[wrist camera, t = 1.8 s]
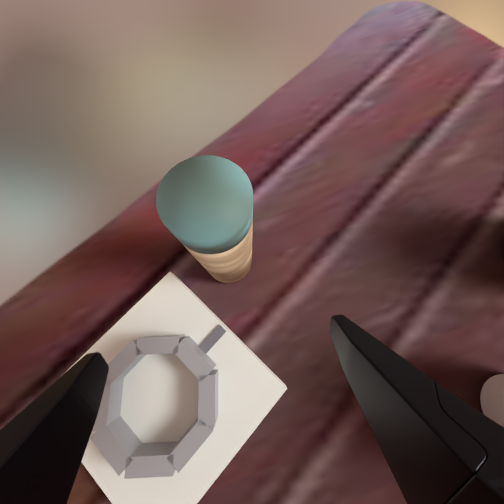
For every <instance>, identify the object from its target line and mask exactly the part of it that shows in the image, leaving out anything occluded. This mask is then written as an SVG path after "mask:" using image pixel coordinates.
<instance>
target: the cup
mask: <svg viewBox="0 0 504 504" xmlns="http://www.w3.org/2000/svg"><path fill="white" fill-rule="evenodd" d="M480 401H481V408H482V411H483V414H484V415H485V416H487V417H489V418H490V419H492V420H493V421H495V422H496V423H498V424H500V425H501V426H503V427H504V374H498V375H494V376H492V377H490V378H489V379H488V380H487V381H486V382H485V383H484V385H483V387H482V390H481V396H480Z"/></svg>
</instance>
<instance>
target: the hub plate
mask: <svg viewBox="0 0 504 504" xmlns="http://www.w3.org/2000/svg"><path fill="white" fill-rule="evenodd" d="M94 352H99V353H101V355H102V356H103V358H104V359H105V361H106V362H107V364H108V366H109V372H108V376H107V380H106V384H105V388H104V392H103V396H102V400H101V404H100V408H99V412H98V415H97V418H96V421H95V424H94V427H93V430H92V433H91V436H90V438H89V441H88V444H87V447H86V450H85V453H84V456H83V458H82V461H81V462H82V463H83V465H84V466H85V468H86V469H87V470H88V472H89V473H90V474H91V476H92V477H93V478H94V480H95V481H96V482H97V484H98V485H99V487H100V488H101V489H102V491H103V492H104V493H105V495H106V496H107V497H108V499H109V500H110V502H111V503H112V504H197V503H198V502H199V501H200V499H201V498H202V497H203V495H204V494H205V493H206V492H207V490H208V489H209V488H210V487H211V485H212V484H213V483H214V481H215V480H216V479H217V478H218V476H219V475H220V474H221V472H222V471H223V470H224V469H225V467H226V466H227V465H228V463H229V462H230V461H231V460H232V458H233V457H234V456H235V455H236V453H237V452H238V451H239V449H240V448H241V447H242V446H243V444H244V443H245V442H246V440H247V439H248V438H249V437H250V435H251V434H252V433H253V432H254V430H255V429H256V428H257V426H258V425H259V424H260V423H261V421H262V420H263V419H264V417H265V416H266V415H267V414H268V412H269V411H270V410H271V409H272V407H273V406H274V405H275V403H276V402H277V401H278V400H279V398H280V397H281V396H282V394H283V393H284V392H285V391H286V389H287V387H286V385H285V384H284V383H283V382H282V381H281V380H280V379H279V378H278V377H277V376H276V375H275V374H274V373H273V372H272V371H271V370H270V369H269V368H268V367H267V366H266V365H265V364H264V363H263V362H262V361H261V360H260V359H259V358H258V357H257V356H256V355H255V354H254V353H253V352H252V351H251V350H250V349H249V348H248V347H247V346H246V345H245V344H244V343H243V342H242V341H241V340H240V339H239V338H238V337H237V336H236V335H235V334H234V333H233V332H232V331H231V330H230V329H229V328H228V327H227V326H226V325H225V324H224V323H223V322H222V321H221V320H220V319H219V318H218V317H217V316H216V315H215V314H214V313H213V312H212V311H211V310H210V309H209V308H208V307H207V306H206V305H205V304H204V303H203V302H202V301H201V300H200V299H199V298H198V297H197V296H196V295H195V294H194V293H193V292H192V291H191V290H190V289H189V288H188V287H187V286H186V285H185V284H184V283H183V282H182V281H181V280H180V279H179V278H178V277H177V276H176V275H175V274H174V273H172V272H169V273H168V274H167V275H166V276H165V277H164V278H162V279H161V280H160V281H159V282H158V283H157V284H156V285H155V286H154V287H153V288H152V289H151V290H150V291H149V292H148V293H147V294H146V295H145V296H144V297H143V298H142V299H141V300H140V301H139V302H138V303H137V304H135V305H134V306H133V307H132V308H131V309H130V310H129V311H128V312H127V313H126V314H125V315H124V316H123V317H122V318H121V319H120V320H119V321H118V322H117V323H116V324H115V325H114V326H113V327H112V328H111V329H110V330H108V331H107V332H106V333H105V334H104V335H103V336H102V337H101V338H100V339H99V340H98V341H97V342H96V343H95V344H94V345H93V346H92V347H91V348H90V349H89V350H88V351H87V352H86V353H85V354H84V355H83V356H81V357H80V358H79V359H78V360H77V361H76V362H75V363H74V364H76V363H77V362H78V361H79V360H80V359H81V358H82V357H84V356H85V355H86V354H88V353H94ZM74 364H73V365H74ZM73 365H72V366H73ZM72 366H71V367H72ZM71 367H70V368H71ZM70 368H69V369H70ZM69 369H68V370H69ZM68 370H67V371H68ZM67 371H66V372H67Z"/></svg>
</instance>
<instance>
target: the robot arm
mask: <svg viewBox="0 0 504 504" xmlns="http://www.w3.org/2000/svg"><path fill="white" fill-rule="evenodd" d="M330 335H331V338H332V341H333V343H334V346H335V349H336V352H337V354H338V357H339V360H340V363H341V365H342V368H343V371H344V373H345V376H346V378H347V380H348V382H349V384H350V386H351V388H352V390H353V392H354V394H355V397H356V399H357V401H358V403H359V405H360V407H361V409H362V411H363V413H364V415H365V417H366V419H367V421H368V423H369V425H370V428H371V430H372V432H373V434H374V436H375V438H376V440H377V442H378V444H379V446H380V448H381V450H382V452H383V454H384V456H385V458H386V461H387V463H388V465H389V467H390V469H391V471H392V473H393V475H394V477H395V479H396V481H397V483H398V485H399V487H400V489H401V492H402V494H403V496H404V498H405V500H406V502H407V504H504V427H503V426H501V425H500V424H498V423H496V422H495V421H493V420H492V419H490V418H489V417H487V416H485V415H484V414H482V413H481V412H479V411H478V410H476V409H475V408H473V407H472V406H470V405H469V404H467V403H466V402H464V401H463V400H461V399H460V398H458V397H457V396H456V395H454V394H453V393H451V392H450V391H448V390H447V389H446V388H444V387H443V386H441V385H440V384H439V383H437V382H434V380H433V379H431V378H430V377H429V376H427V375H426V374H424V373H423V372H422V371H420V370H419V369H418V368H416V367H415V366H413V365H412V364H411V363H409V362H408V361H406V360H405V359H404V358H402V357H401V356H399V355H398V354H397V353H395V352H394V351H392V350H391V349H390V348H388V347H387V346H385V345H384V344H383V343H381V342H380V341H379V340H377V339H376V338H374V337H373V336H372V335H370V334H369V333H367V332H366V331H365V330H363V329H362V328H360V327H359V326H358V325H356V324H355V323H353V322H352V321H351V320H349V319H348V318H346V317H345V316H344V315H335V316H332V317H331V324H330ZM108 372H109V366H108V364H107V362H106V361H105V359H104V358H103V356H102V355H101V353H99V352H94V353H88V354H86V355H85V356H84V357H82V358H81V359H80V360H79V361H78V362H77V363H76V364H74V365H73V366H72V367H71V368H70V369H69V370H68V371H67V372H65V373H64V374H63V375H62V376H61V377H60V378H59V379H57V380H56V381H55V382H54V383H53V384H52V385H51V386H49V387H48V388H47V389H46V390H45V391H44V392H43V393H42V394H40V395H39V396H38V397H37V398H36V399H35V400H34V401H32V402H31V403H30V404H29V405H28V406H27V407H26V408H24V409H23V410H22V411H21V412H20V413H19V414H18V415H17V416H15V417H14V418H13V419H12V420H11V421H10V422H9V423H7V424H6V425H5V426H4V427H3V428H2V429H1V430H0V504H67V501H68V498H69V496H70V493H71V490H72V487H73V484H74V481H75V478H76V476H77V473H78V470H79V467H80V464H81V461H82V458H83V456H84V453H85V450H86V447H87V444H88V441H89V438H90V436H91V433H92V430H93V427H94V424H95V421H96V418H97V415H98V412H99V408H100V404H101V400H102V396H103V392H104V388H105V384H106V380H107V376H108Z"/></svg>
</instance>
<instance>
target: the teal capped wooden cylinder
mask: <svg viewBox="0 0 504 504" xmlns="http://www.w3.org/2000/svg"><path fill="white" fill-rule="evenodd" d="M156 205H157V211H158V214H159V216H160V219H161V221H162V222H163V223H164V225H165V226H166V227H167V228H168V229H169V230H170V232H171V233H172V234H173V235H174V236H175V237H176V238H177V239H178V240H179V241H180V242H181V243H182V244H183V245H184V247H185V248H186V249H187V250H188V251H189V252H190V253H191V254H192V255H193V256H194V257H195V258H196V259H197V261H198V262H199V263H200V264H201V265H202V266H203V267H204V268H205V269H206V270H207V271H208V272H209V273H210V274H211V276H212V277H213V278H215V279H216V280H217V281H219V282H222V283H235V282H238V281H240V280H242V279H243V278H244V277H245V276H246V275H247V274H248V272H249V271H250V268H251V264H252V224H253V190H252V186H251V183H250V180H249V178H248V177H247V175H246V174H245V172H244V171H243V170H242V169H241V168H240V167H239V166H238V165H236V164H235V163H233V162H231V161H230V160H227V159H225V158H222V157H218V156H210V155H204V156H197V157H192V158H189V159H187V160H184V161H182V162H180V163H179V164H177V165H176V166H174V167H173V168H172V169H171V170H170V171H169V172H168V173H167V174H166V175H165V176H164V178H163V180H162V181H161V183H160V185H159V188H158V191H157V197H156Z"/></svg>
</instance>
